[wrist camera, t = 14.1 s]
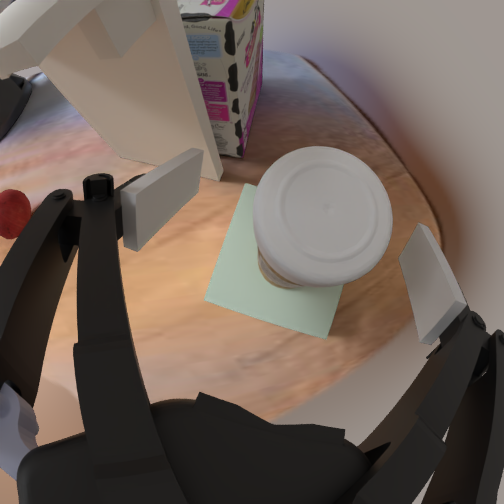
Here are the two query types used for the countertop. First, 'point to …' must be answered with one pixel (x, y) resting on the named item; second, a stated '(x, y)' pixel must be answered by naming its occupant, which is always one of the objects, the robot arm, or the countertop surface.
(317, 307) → the pedestal
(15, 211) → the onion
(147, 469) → the robot arm
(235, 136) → the candy bar box
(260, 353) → the countertop surface
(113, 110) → the white t-shaped stand
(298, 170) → the sprinkles bottle
